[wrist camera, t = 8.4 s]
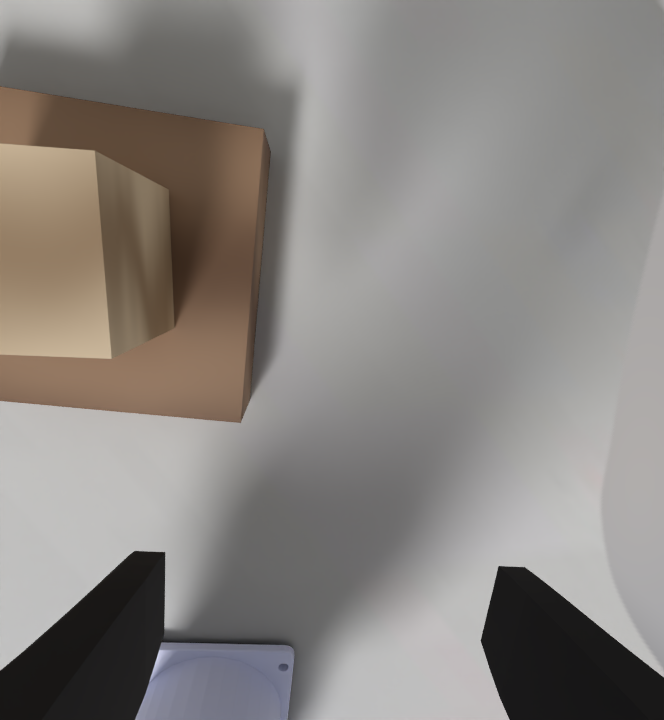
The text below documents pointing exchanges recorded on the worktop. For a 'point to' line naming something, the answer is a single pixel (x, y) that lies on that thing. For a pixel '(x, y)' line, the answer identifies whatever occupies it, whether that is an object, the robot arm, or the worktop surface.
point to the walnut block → (189, 259)
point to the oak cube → (81, 254)
